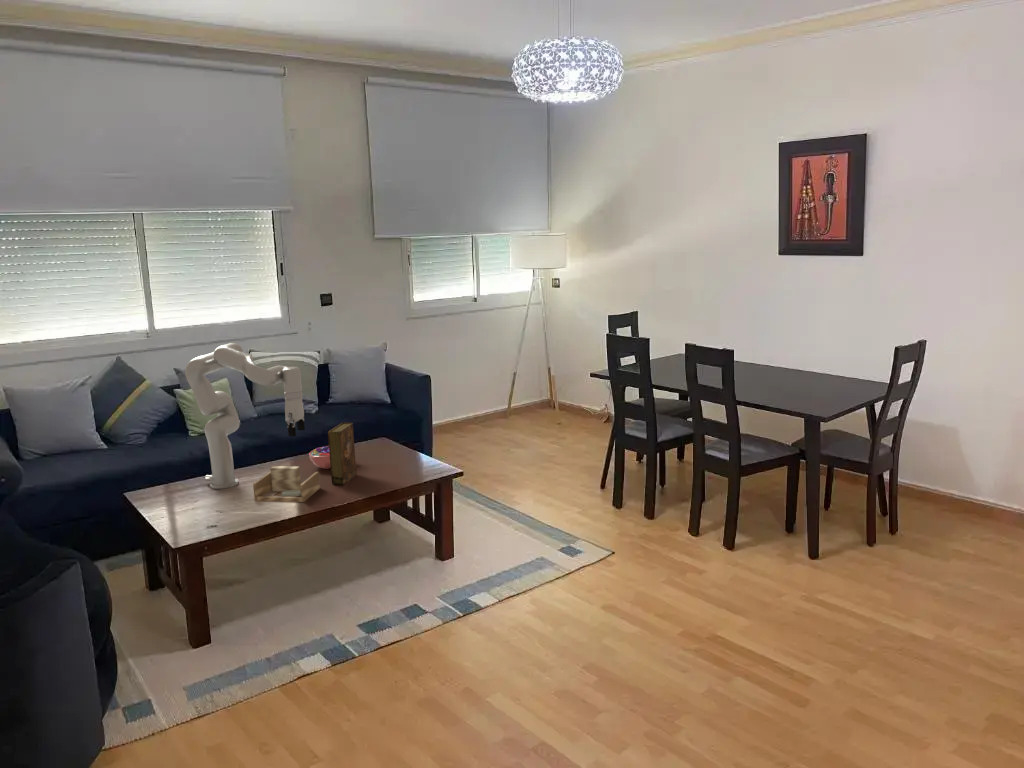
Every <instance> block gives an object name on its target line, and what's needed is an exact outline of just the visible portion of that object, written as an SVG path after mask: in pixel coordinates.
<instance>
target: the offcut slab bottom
mask: <svg viewBox="0 0 1024 768" xmlns="http://www.w3.org/2000/svg"><path fill="white" fill-rule="evenodd" d="M282 492H283V491H276V493H275V494H273V496H272V497H283V496H282V494H281V493H282Z"/></svg>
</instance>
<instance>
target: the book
mask: <svg viewBox="0 0 1024 768" xmlns="http://www.w3.org/2000/svg"><path fill="white" fill-rule="evenodd" d="M354 435H355V434H354V423H353V422H341V423H340V424H338V425H336V426H335V427H333V428H332V429H329V431H328V432H327V441H328V446H329V453H330V466H331V468H330V475H331V484H332V485H336V484H337V485H339V484H340V485H342V486H343V485H345V484H347V483H349V482H350V481H351V480H353V479H354V478H355V477H356V476H357V462H356V449H355V438H354V437H355V436H354Z"/></svg>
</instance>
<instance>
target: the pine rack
mask: <svg viewBox="0 0 1024 768" xmlns="http://www.w3.org/2000/svg"><path fill="white" fill-rule="evenodd" d="M252 487H253V496H254V498H253V499H254V501H255V502H289V503H290V502H291V503H292V502H293V503H294V502H295V503H305V502H306V501H307V500H308V499H309V498H310V497H311V496H313V495H314V494H315V493H317V491H318V490H320V488H321V485H320V474H319V471H314V473H312V474H311V475H310V476H309V477H307V478H306V479H305V480H303V482H301V484H300V488H301V495H300V496H265V495H266V494H268V493H269V492H271V490H272V491H273V489H272V479H271V470H270V471H268V472H267V473H266V474H265V475H263V476H262V477H260V478H259V479H258V480H256V481H255V482H253V483H252Z"/></svg>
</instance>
